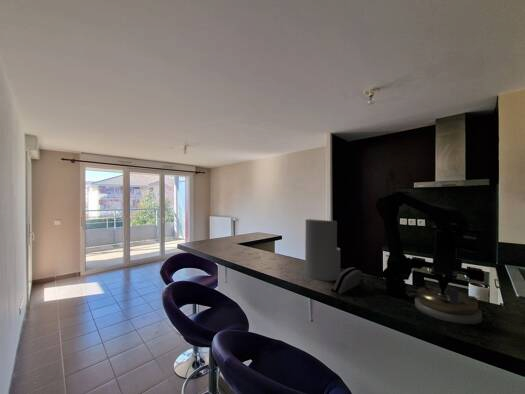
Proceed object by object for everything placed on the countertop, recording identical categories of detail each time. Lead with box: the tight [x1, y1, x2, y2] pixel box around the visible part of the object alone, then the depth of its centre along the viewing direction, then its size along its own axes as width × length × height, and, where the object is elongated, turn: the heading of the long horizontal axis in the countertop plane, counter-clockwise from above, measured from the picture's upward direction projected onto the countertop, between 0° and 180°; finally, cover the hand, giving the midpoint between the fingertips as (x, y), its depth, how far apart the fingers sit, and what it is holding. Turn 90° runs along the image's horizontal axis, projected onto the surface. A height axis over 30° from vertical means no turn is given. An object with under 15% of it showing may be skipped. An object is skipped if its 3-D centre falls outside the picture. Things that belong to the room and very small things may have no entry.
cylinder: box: [304, 218, 341, 282], centre depth 121 cm, size 17×17×28 cm
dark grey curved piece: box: [329, 266, 363, 295], centre depth 102 cm, size 17×5×10 cm, turn 134°
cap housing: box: [414, 295, 483, 325], centre depth 81 cm, size 18×18×2 cm
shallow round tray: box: [417, 285, 479, 315], centre depth 81 cm, size 16×16×7 cm
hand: (442, 294), depth 77 cm, fingers closed
